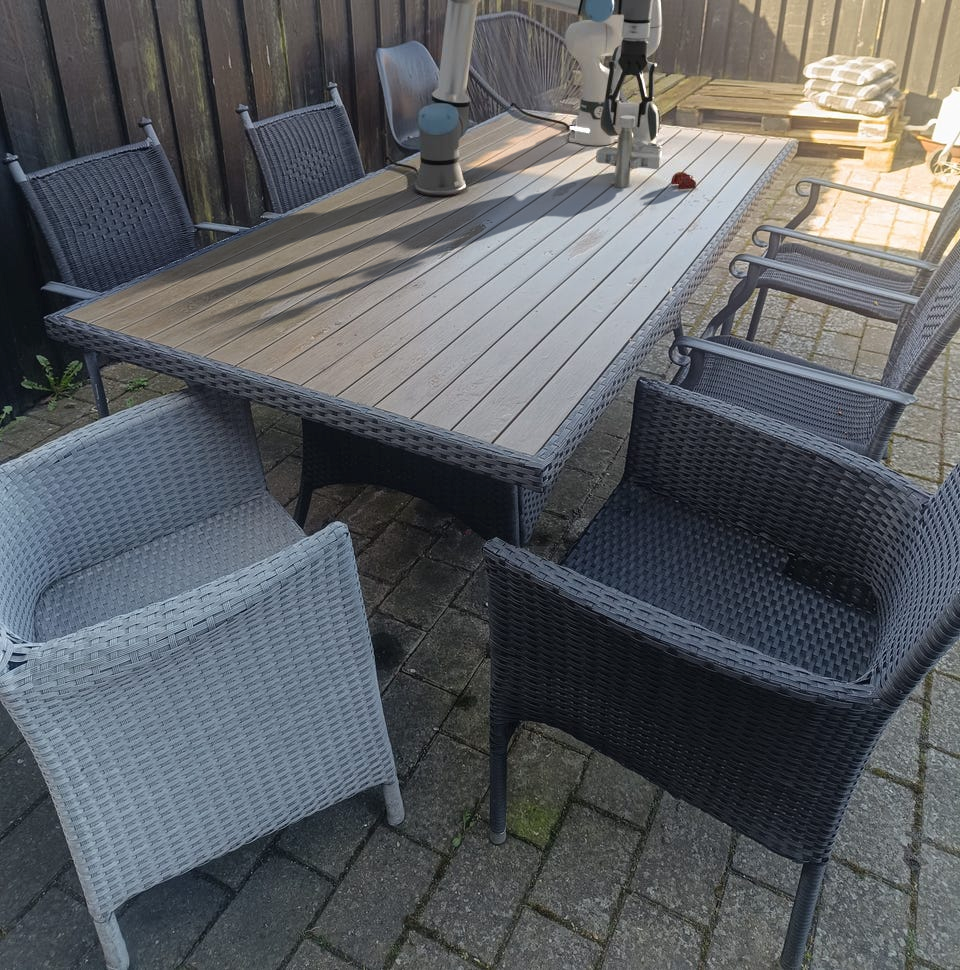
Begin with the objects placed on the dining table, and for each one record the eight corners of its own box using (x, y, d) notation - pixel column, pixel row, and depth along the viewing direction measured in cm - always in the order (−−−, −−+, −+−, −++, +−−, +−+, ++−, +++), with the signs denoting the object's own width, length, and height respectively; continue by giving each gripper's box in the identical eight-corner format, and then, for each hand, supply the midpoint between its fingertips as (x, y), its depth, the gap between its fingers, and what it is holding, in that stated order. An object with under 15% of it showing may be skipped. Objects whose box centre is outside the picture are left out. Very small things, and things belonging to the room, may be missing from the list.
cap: (636, 125, 253) (637, 116, 251) (631, 128, 250) (632, 119, 248) (622, 123, 254) (623, 114, 253) (617, 126, 251) (618, 117, 250)
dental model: (687, 168, 262) (698, 175, 256) (685, 181, 264) (697, 189, 258) (670, 170, 261) (681, 177, 255) (669, 183, 263) (680, 191, 257)
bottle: (617, 182, 265) (623, 117, 254) (630, 184, 263) (637, 118, 252) (611, 186, 262) (617, 120, 250) (625, 188, 260) (631, 121, 248)
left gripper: (598, 39, 238) (592, 125, 252) (667, 42, 233) (657, 130, 246) (604, 35, 244) (598, 119, 258) (672, 39, 238) (662, 125, 252)
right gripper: (603, 139, 269) (590, 150, 259) (666, 146, 263) (656, 156, 253) (601, 160, 273) (589, 171, 263) (663, 166, 267) (653, 178, 256)
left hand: (627, 125), depth 252 cm, fingers open, 7 cm apart
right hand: (622, 164), depth 258 cm, fingers closed on bottle, 4 cm apart
